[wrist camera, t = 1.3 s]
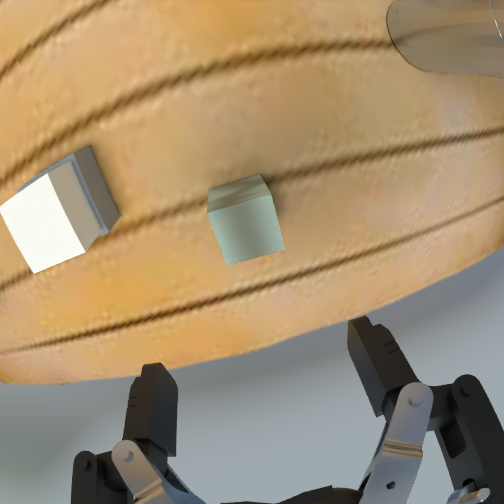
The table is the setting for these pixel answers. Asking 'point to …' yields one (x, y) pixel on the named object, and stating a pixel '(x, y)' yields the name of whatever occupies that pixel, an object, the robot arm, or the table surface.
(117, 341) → the table surface
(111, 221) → the slate base block
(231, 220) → the sage block
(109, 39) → the table surface
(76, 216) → the cream top block
